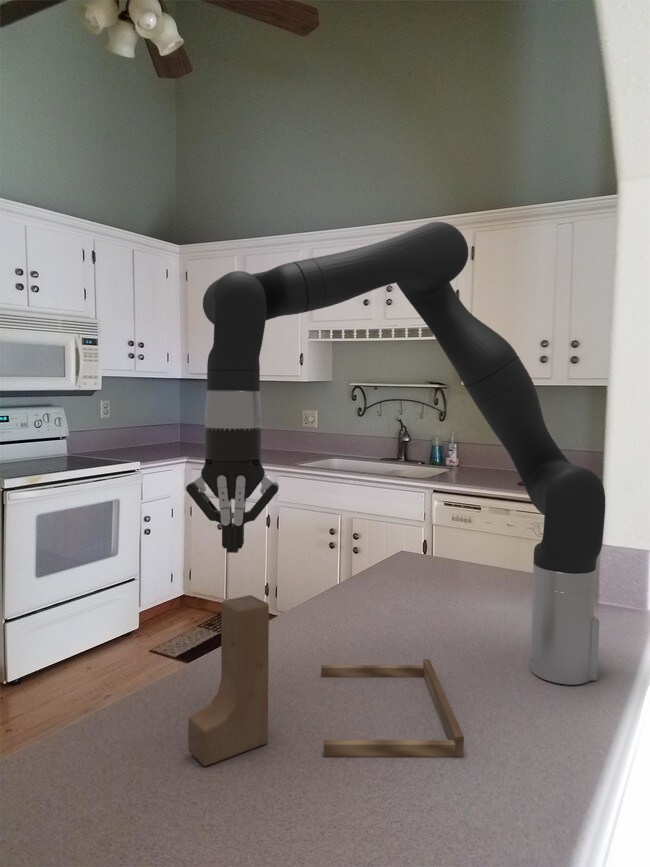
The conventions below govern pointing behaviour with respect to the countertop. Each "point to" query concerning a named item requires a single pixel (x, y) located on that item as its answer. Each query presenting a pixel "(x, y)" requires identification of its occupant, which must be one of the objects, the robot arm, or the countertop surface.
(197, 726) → the wooden block
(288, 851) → the countertop surface
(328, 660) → the countertop surface
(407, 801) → the countertop surface
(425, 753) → the frame
